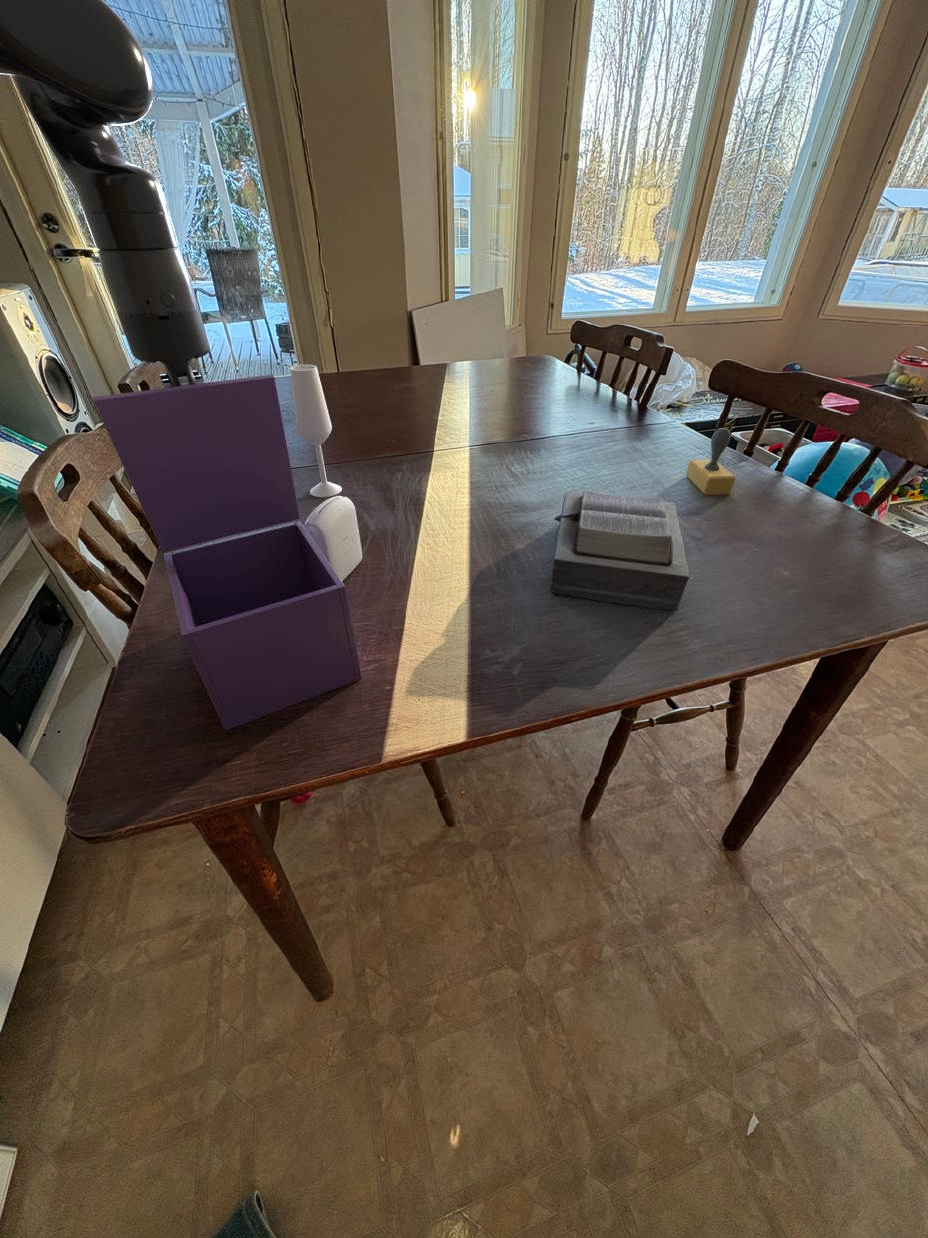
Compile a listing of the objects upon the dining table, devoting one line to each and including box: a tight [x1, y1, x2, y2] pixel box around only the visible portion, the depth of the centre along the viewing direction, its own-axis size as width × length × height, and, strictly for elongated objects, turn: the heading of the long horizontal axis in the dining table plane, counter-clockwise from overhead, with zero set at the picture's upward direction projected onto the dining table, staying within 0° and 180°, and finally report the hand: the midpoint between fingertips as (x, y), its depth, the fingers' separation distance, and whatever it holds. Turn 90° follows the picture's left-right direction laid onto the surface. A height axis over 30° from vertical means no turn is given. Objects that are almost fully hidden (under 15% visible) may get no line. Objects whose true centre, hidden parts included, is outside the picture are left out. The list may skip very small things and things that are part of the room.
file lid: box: [92, 374, 301, 553], centre depth 57 cm, size 18×17×1 cm
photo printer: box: [303, 495, 363, 582], centre depth 80 cm, size 10×4×12 cm, turn 160°
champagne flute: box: [289, 364, 343, 498], centre depth 101 cm, size 7×7×24 cm
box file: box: [163, 520, 363, 731], centre depth 63 cm, size 18×17×14 cm
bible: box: [549, 489, 690, 611], centre depth 83 cm, size 23×27×10 cm
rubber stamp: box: [685, 427, 736, 496], centre depth 106 cm, size 10×6×12 cm, turn 4°
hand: (210, 469), depth 62 cm, fingers closed
